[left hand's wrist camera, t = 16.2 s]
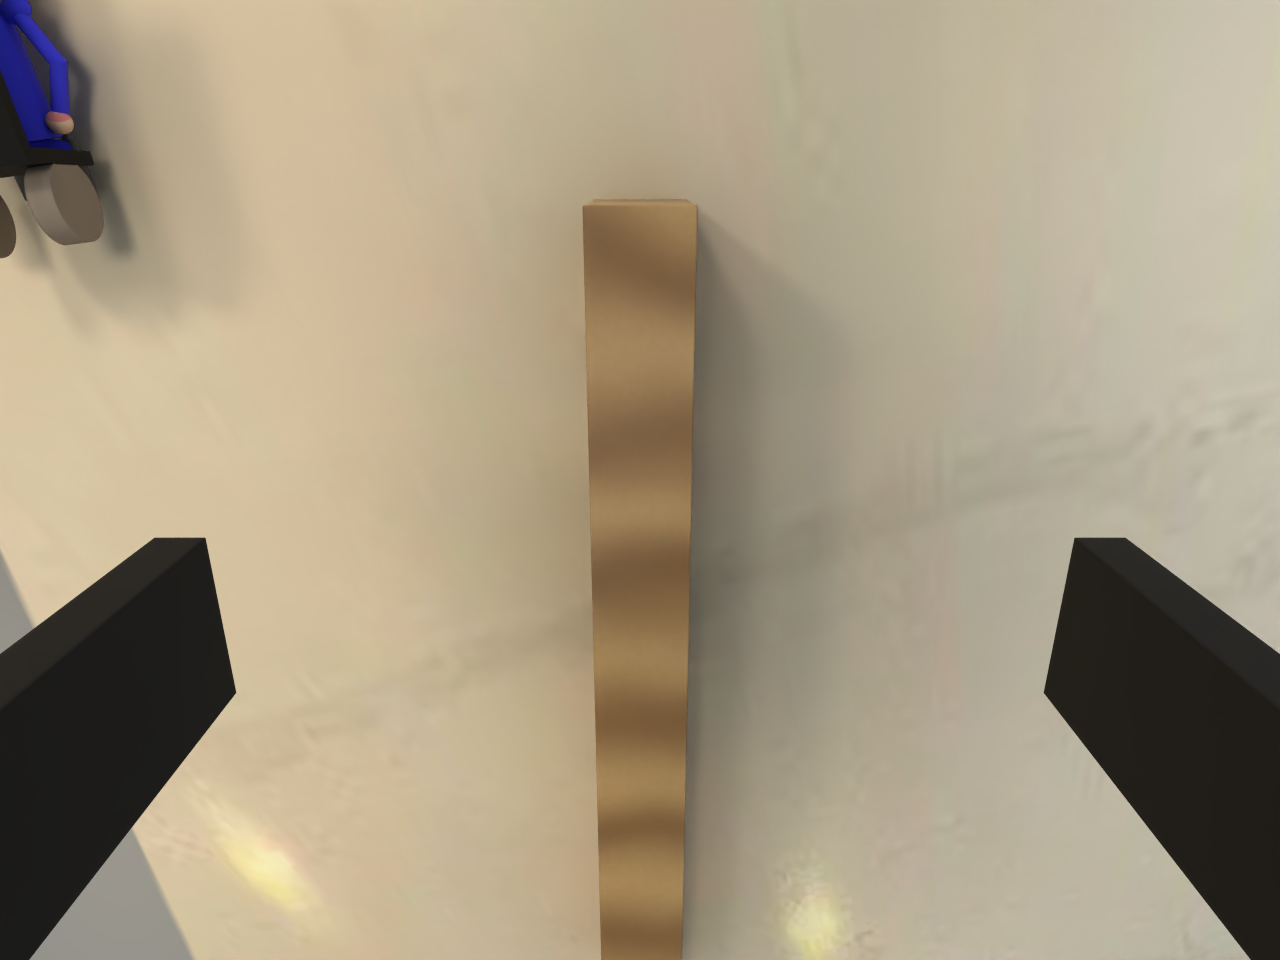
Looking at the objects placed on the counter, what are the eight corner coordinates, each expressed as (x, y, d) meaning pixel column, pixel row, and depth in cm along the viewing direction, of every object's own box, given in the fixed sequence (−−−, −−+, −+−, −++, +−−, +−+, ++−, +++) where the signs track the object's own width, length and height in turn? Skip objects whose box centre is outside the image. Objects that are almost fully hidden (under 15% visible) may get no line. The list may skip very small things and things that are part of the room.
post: (592, 199, 41) (582, 205, 34) (687, 199, 41) (697, 205, 34) (608, 954, 59) (603, 1065, 52) (674, 954, 59) (679, 1065, 52)
